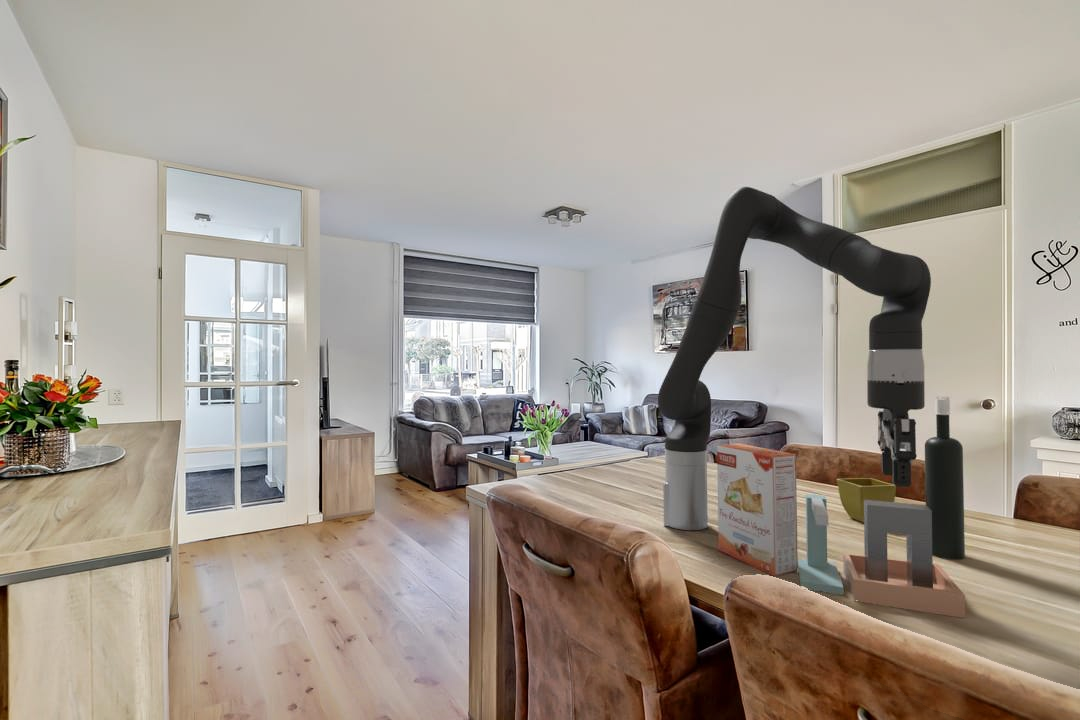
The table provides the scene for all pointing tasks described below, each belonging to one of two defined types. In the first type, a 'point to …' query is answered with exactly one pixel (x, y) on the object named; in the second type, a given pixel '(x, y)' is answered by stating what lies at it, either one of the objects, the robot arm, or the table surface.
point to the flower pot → (863, 494)
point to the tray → (904, 588)
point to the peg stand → (818, 550)
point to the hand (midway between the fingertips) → (895, 480)
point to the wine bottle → (945, 487)
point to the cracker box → (758, 507)
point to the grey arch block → (904, 521)
